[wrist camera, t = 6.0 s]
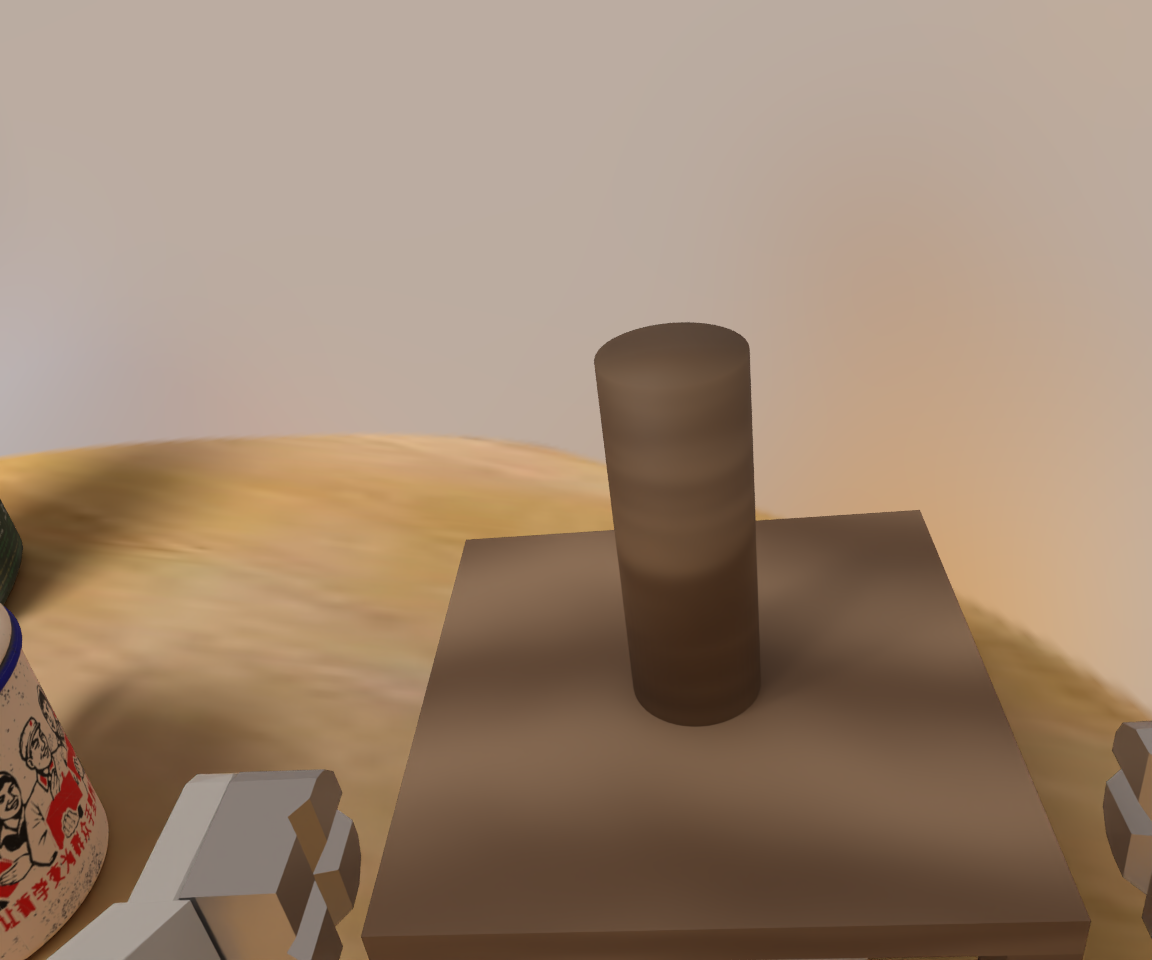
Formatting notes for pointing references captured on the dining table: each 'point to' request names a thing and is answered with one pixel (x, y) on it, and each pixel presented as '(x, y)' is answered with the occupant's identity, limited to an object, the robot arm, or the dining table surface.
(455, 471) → the dining table surface
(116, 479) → the dining table surface
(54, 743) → the teacup with lid
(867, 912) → the walnut cover
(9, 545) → the coffee jar
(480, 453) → the dining table surface
